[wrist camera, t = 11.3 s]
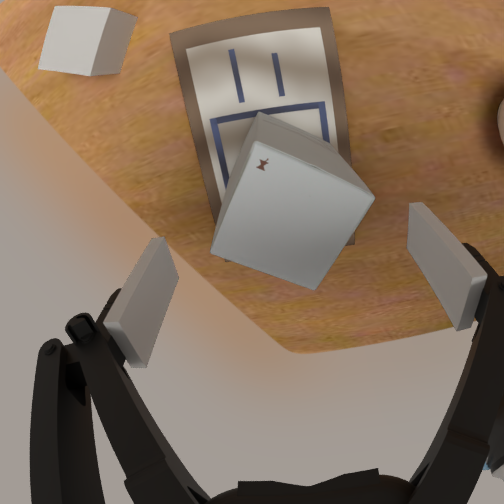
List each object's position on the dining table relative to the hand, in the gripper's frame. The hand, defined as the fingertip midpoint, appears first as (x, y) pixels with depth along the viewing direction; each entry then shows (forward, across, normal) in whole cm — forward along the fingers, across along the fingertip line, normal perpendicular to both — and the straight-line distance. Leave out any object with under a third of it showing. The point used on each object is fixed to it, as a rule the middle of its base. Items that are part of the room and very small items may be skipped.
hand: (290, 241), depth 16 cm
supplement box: (+14, 0, 0) cm, 14 cm away
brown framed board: (+15, 0, -2) cm, 15 cm away
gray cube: (+15, +14, -16) cm, 27 cm away
